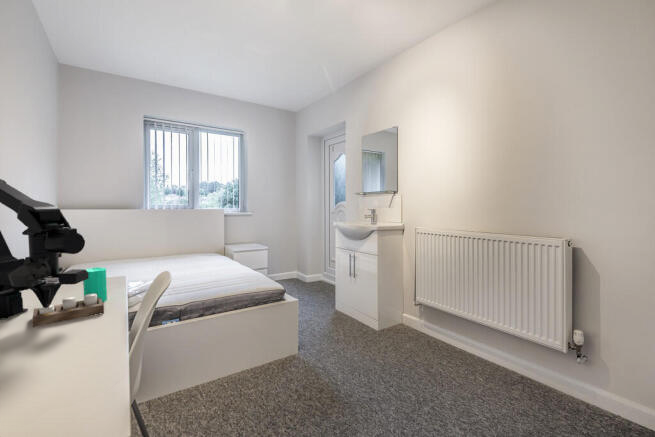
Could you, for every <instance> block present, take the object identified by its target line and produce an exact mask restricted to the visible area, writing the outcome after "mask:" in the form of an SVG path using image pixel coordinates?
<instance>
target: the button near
mask: <svg viewBox="0 0 655 437" xmlns="http://www.w3.org/2000/svg"><path fill="white" fill-rule="evenodd" d="M54 305H55V304H54ZM54 305H53V304H50V306H49V307H47V308H43V306H40V307H38V308H39V314H44V313H50V312H54Z"/></svg>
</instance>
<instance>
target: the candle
mask: <svg viewBox="0 0 655 437" xmlns="http://www.w3.org/2000/svg"><path fill="white" fill-rule="evenodd" d="M106 268H107V267H99V266H98V267H96V265H95V264H94V266H93V267H90V268H87V269H85V270H86V271H87V272H88V277H89V278H88V279H86V280H84V281H82V284H83V297H84V296H85V295H88V294H97V298H101V300H102V302H103V303H104V302H106V301H107V300H108V292H107V291H108V289H107V269H106Z"/></svg>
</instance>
